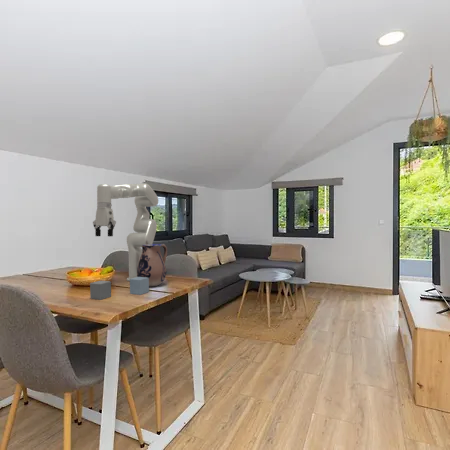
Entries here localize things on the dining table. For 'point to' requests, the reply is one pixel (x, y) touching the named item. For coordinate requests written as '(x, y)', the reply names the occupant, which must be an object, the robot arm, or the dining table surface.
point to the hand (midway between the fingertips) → (104, 236)
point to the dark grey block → (100, 290)
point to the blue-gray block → (139, 285)
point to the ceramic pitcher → (152, 264)
